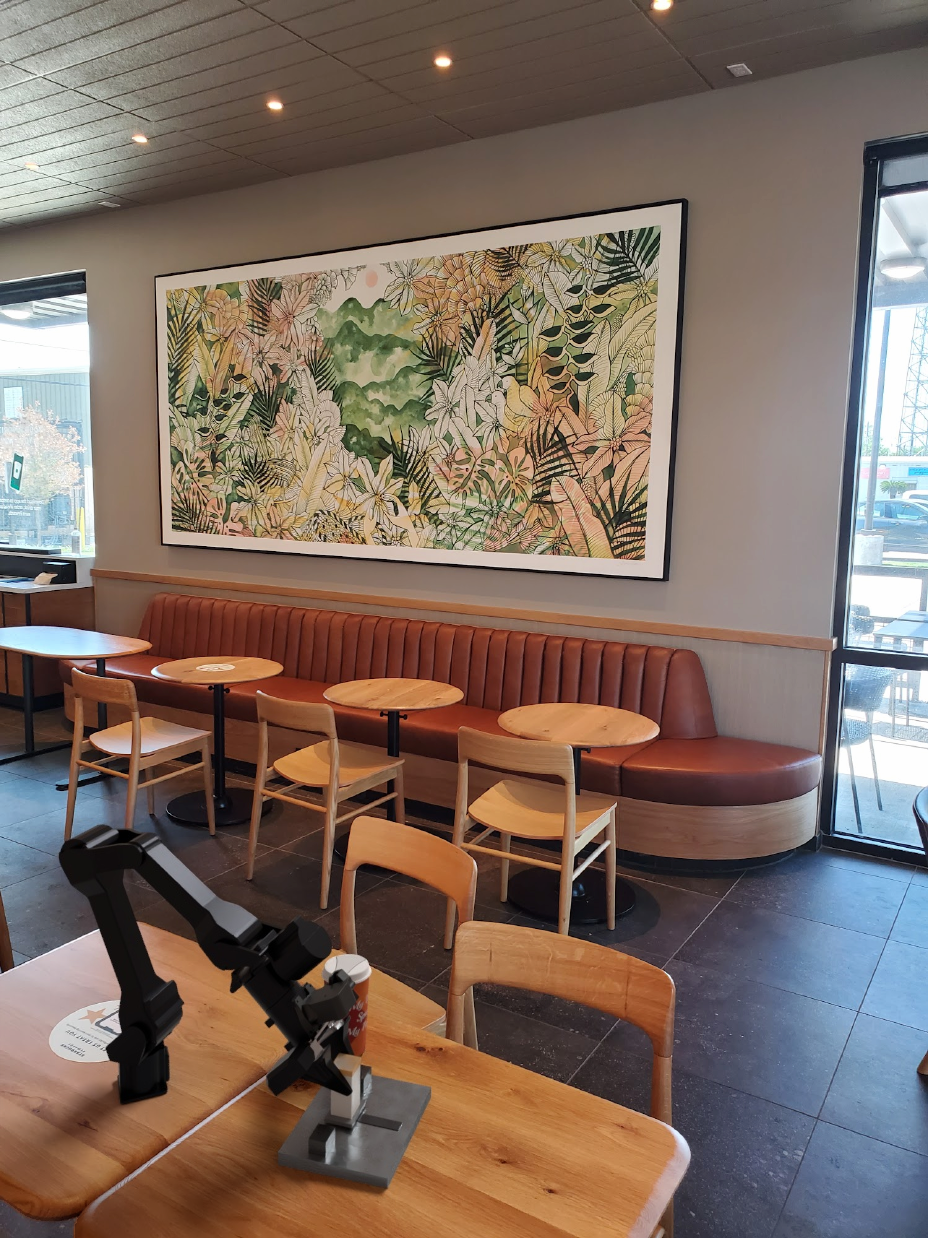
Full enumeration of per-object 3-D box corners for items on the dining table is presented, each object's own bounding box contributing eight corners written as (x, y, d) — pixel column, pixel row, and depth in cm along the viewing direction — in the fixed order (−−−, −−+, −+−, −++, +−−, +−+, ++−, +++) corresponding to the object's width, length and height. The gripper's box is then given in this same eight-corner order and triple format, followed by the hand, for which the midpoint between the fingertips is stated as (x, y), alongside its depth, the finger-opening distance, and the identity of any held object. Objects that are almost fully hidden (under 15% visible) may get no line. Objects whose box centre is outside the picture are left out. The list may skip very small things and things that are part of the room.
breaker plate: (277, 1166, 113) (277, 1138, 113) (334, 1079, 130) (334, 1054, 130) (387, 1193, 109) (387, 1164, 109) (430, 1100, 126) (431, 1074, 126)
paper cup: (363, 1067, 133) (362, 979, 131) (315, 1061, 134) (313, 974, 133) (378, 1037, 141) (377, 954, 139) (332, 1032, 142) (331, 949, 141)
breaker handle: (324, 1122, 118) (324, 1070, 117) (339, 1098, 123) (339, 1048, 122) (351, 1128, 117) (352, 1076, 116) (365, 1104, 122) (366, 1054, 121)
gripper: (287, 1001, 109) (369, 1100, 108) (346, 932, 127) (417, 1016, 126) (231, 1048, 112) (310, 1145, 111) (296, 974, 130) (365, 1057, 129)
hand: (355, 1086), depth 119 cm, fingers closed on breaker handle, 3 cm apart
